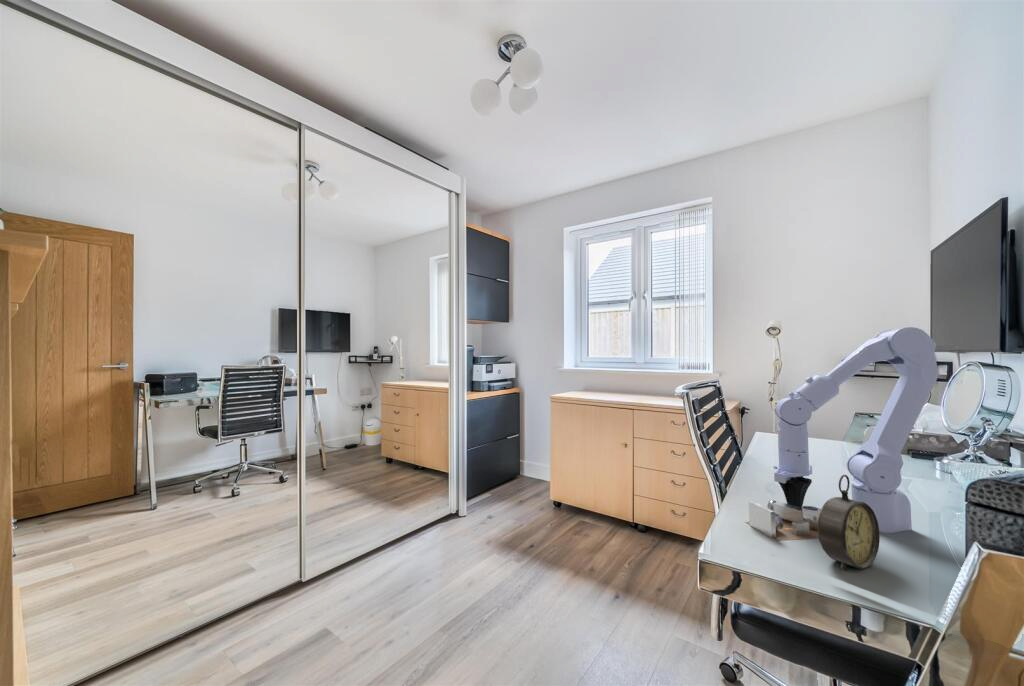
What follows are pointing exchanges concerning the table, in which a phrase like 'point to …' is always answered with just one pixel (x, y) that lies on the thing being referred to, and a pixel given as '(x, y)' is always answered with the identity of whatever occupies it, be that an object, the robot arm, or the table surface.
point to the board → (788, 535)
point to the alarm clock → (848, 530)
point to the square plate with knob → (772, 521)
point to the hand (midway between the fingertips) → (794, 509)
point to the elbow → (796, 513)
